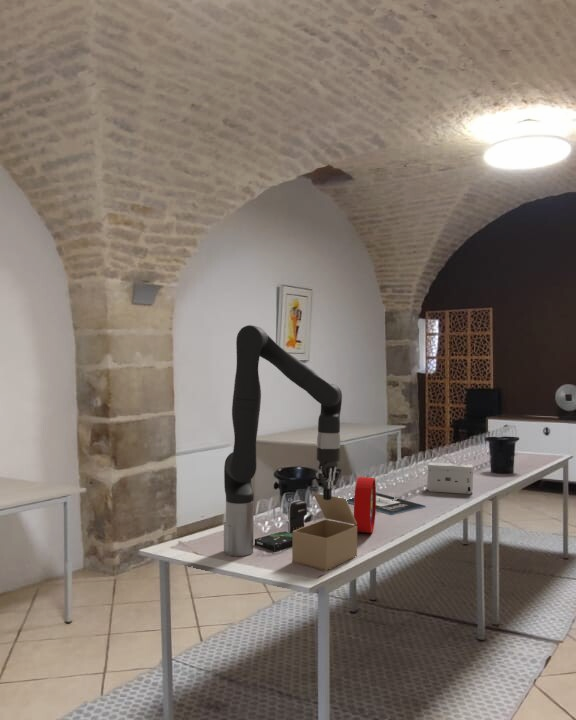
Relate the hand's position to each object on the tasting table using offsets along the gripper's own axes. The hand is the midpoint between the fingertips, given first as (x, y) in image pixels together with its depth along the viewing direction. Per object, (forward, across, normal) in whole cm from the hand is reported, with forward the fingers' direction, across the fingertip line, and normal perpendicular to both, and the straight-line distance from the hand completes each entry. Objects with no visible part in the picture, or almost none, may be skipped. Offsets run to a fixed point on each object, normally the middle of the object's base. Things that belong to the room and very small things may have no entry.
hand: (327, 499), depth 216 cm
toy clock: (+19, -35, -6) cm, 40 cm away
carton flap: (+4, -5, 0) cm, 6 cm away
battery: (+19, -19, -25) cm, 36 cm away
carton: (+19, 0, 0) cm, 19 cm away
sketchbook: (+18, -77, -22) cm, 82 cm away
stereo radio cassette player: (+17, -118, -8) cm, 120 cm away
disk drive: (+20, -3, -21) cm, 29 cm away
